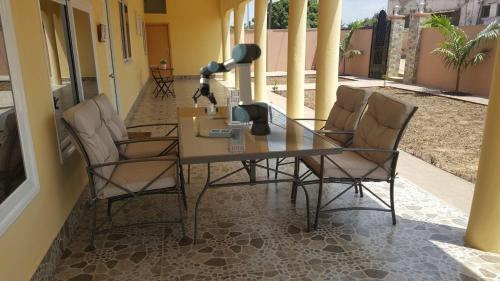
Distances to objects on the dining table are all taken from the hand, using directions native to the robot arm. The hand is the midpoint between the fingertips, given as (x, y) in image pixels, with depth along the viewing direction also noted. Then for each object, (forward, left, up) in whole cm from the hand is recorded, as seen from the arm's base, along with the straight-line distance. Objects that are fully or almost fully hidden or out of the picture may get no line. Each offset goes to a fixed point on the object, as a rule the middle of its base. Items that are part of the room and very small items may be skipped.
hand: (204, 109), depth 275 cm
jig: (-14, +9, -17) cm, 24 cm away
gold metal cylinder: (+3, +11, -17) cm, 21 cm away
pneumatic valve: (+8, -51, -18) cm, 54 cm away
